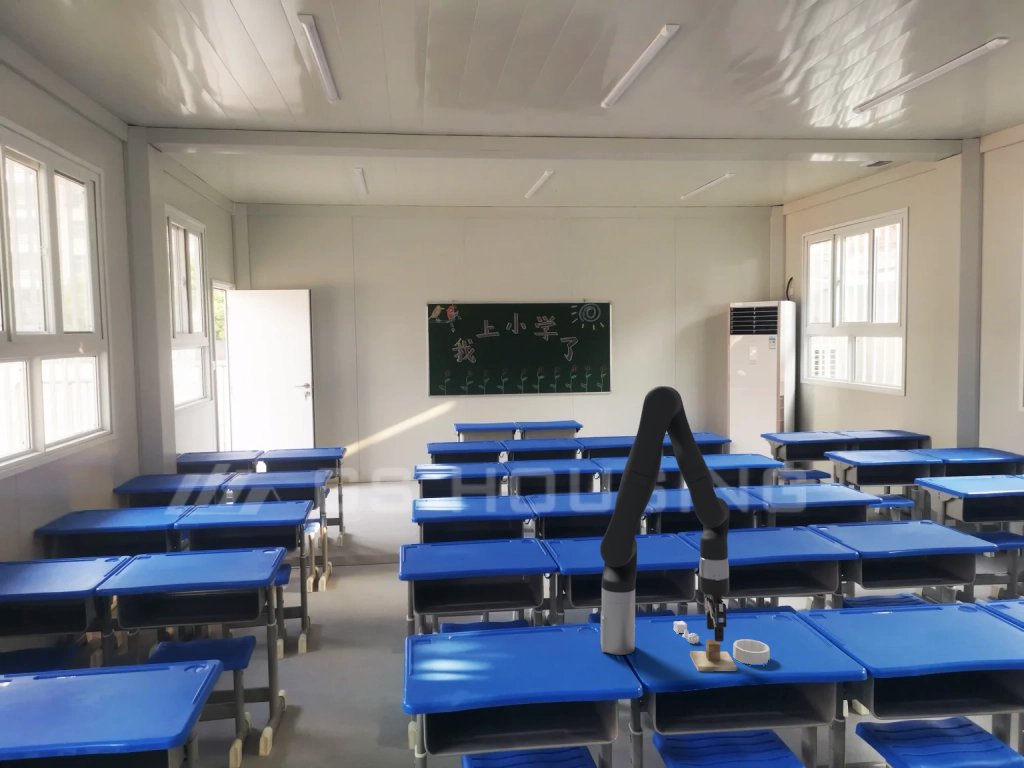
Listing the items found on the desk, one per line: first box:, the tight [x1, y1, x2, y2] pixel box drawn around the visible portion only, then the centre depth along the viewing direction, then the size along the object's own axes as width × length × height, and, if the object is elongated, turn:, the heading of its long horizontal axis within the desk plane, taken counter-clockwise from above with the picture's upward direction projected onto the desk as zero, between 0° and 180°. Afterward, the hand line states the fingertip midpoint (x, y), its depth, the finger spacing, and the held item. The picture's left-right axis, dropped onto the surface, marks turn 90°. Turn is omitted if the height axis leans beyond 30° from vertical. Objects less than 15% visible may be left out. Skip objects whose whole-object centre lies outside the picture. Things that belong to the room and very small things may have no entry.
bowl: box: [732, 638, 771, 664], centre depth 192 cm, size 9×9×4 cm
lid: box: [689, 639, 738, 672], centre depth 189 cm, size 10×10×6 cm
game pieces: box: [673, 620, 700, 645], centre depth 208 cm, size 12×3×3 cm, turn 10°
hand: (714, 634), depth 189 cm, fingers open, 8 cm apart
